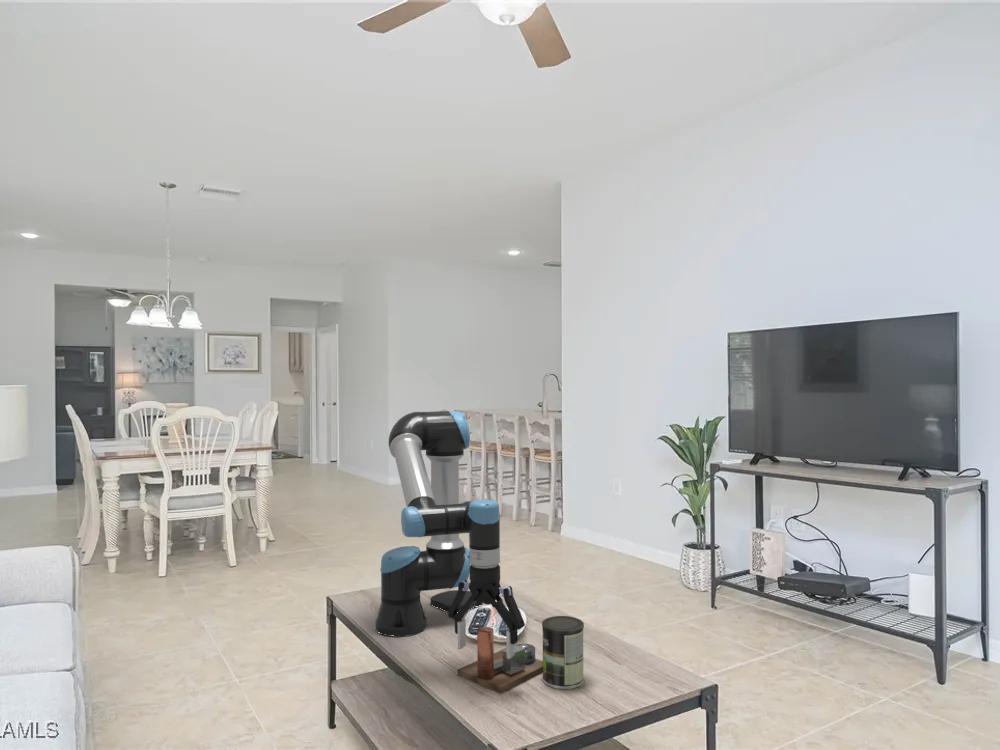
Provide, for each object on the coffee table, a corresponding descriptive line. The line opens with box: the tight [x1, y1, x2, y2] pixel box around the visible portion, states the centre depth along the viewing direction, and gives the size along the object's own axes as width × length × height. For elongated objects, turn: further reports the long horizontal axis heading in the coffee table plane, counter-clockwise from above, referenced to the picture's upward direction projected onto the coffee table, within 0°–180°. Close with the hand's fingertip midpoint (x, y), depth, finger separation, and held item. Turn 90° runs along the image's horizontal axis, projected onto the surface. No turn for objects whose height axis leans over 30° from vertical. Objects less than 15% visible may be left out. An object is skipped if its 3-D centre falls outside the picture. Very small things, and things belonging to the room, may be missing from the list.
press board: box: [456, 647, 543, 694], centre depth 171 cm, size 15×18×2 cm
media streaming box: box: [430, 589, 484, 613], centre depth 224 cm, size 15×15×3 cm
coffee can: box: [541, 615, 585, 690], centre depth 166 cm, size 10×10×14 cm
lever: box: [476, 626, 536, 679], centre depth 169 cm, size 18×7×11 cm, turn 132°
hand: (485, 652), depth 164 cm, fingers open, 13 cm apart
